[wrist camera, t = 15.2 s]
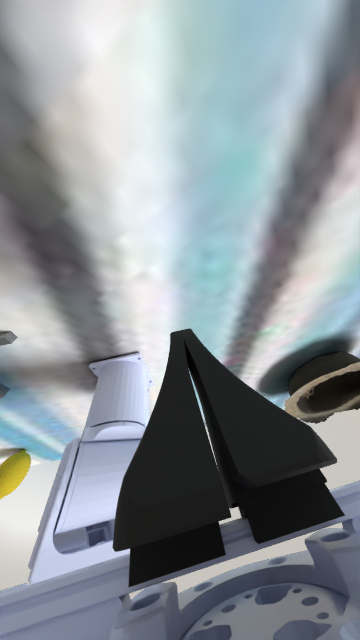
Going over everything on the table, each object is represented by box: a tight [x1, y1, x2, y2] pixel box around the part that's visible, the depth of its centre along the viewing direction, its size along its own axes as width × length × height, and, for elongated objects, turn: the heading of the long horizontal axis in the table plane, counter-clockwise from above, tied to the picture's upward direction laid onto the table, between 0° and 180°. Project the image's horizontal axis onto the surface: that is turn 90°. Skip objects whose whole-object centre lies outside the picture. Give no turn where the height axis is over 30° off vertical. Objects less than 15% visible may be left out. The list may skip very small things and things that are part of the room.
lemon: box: [0, 450, 31, 499], centre depth 33 cm, size 6×6×8 cm
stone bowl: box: [285, 352, 360, 423], centre depth 36 cm, size 25×25×9 cm
